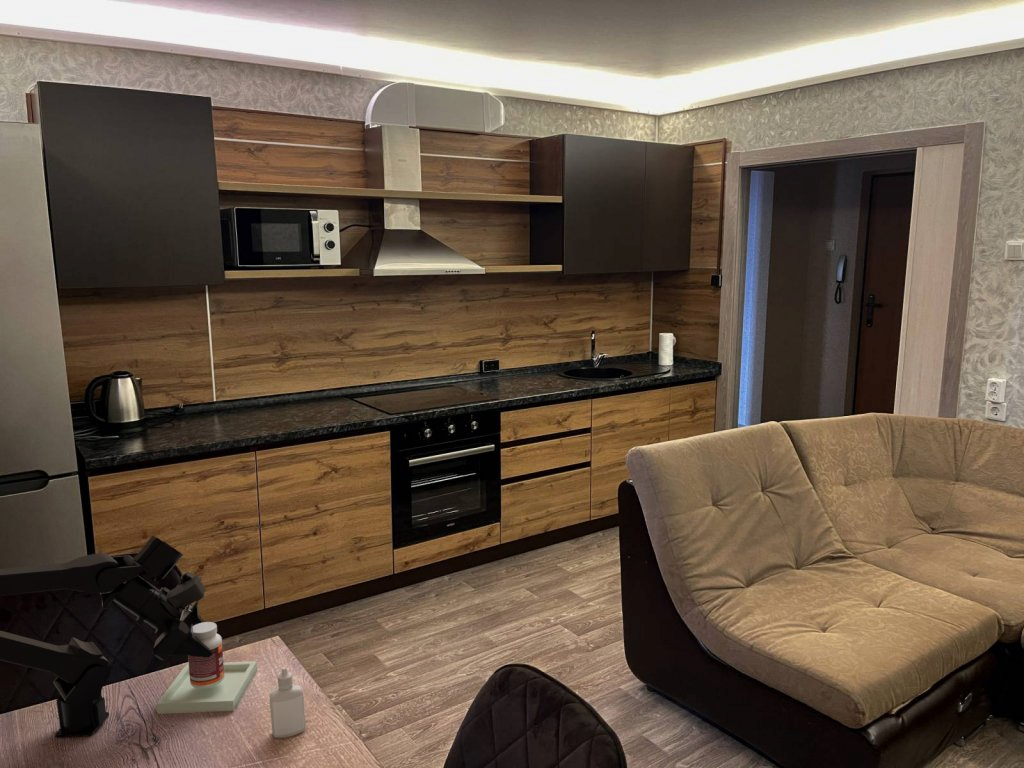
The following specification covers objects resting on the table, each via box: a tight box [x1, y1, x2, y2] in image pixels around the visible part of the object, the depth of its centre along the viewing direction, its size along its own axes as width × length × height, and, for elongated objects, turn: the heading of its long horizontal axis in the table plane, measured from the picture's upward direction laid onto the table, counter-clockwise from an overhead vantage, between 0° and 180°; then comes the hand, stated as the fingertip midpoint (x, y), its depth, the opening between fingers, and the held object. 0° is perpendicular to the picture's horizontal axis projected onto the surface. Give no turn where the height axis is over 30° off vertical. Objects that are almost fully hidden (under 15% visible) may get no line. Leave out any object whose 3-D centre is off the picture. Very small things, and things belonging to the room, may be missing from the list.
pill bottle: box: [187, 621, 224, 689], centre depth 143 cm, size 6×6×11 cm
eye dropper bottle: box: [269, 666, 307, 739], centre depth 130 cm, size 4×6×12 cm
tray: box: [156, 660, 259, 715], centre depth 144 cm, size 14×14×2 cm
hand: (212, 647), depth 143 cm, fingers closed on pill bottle, 6 cm apart
